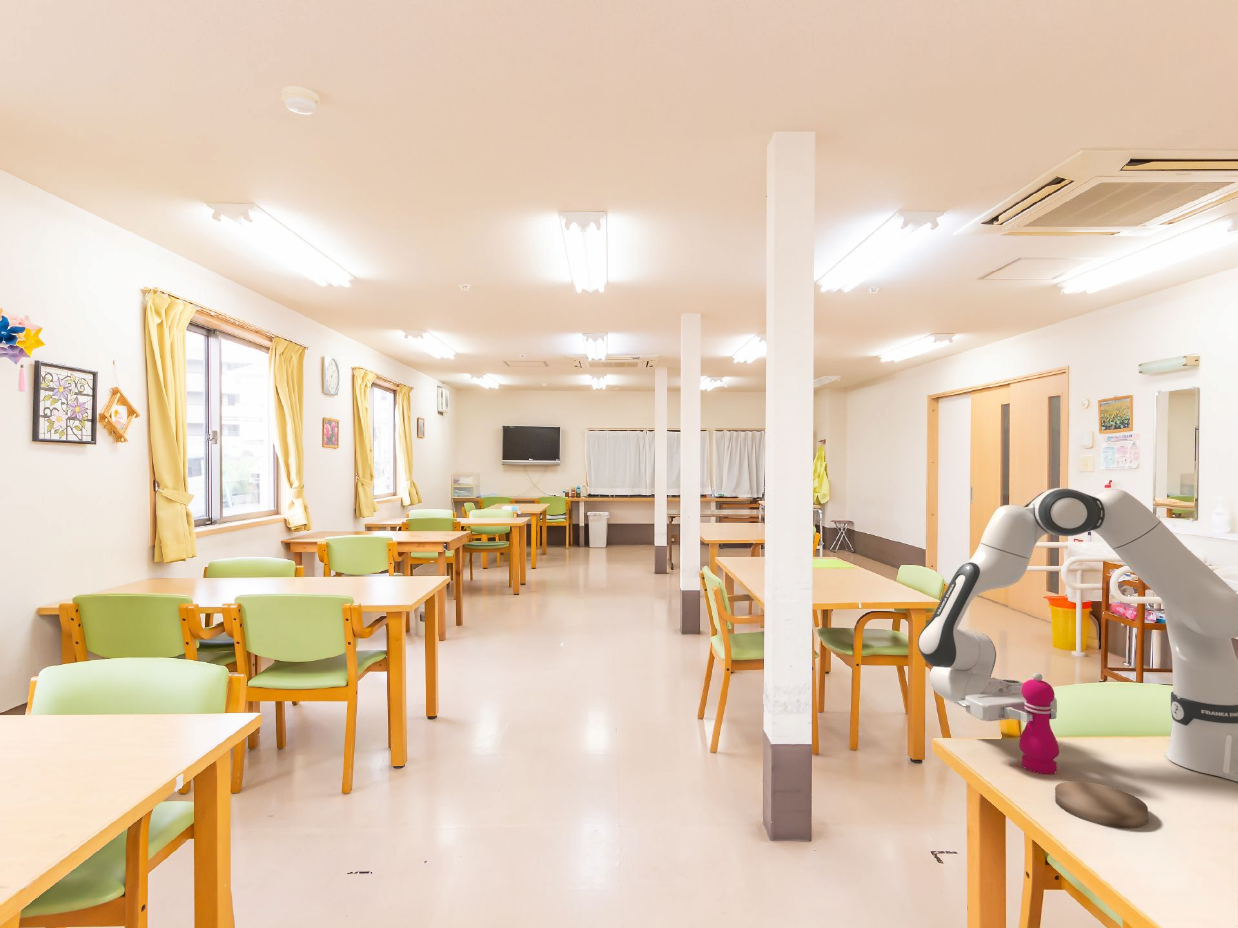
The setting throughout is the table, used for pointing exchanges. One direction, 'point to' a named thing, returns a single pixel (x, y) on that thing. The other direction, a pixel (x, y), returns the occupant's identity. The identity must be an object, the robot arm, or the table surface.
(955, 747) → the table surface
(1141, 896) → the table surface
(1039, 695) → the pepper mill
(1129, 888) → the table surface
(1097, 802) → the walnut board
